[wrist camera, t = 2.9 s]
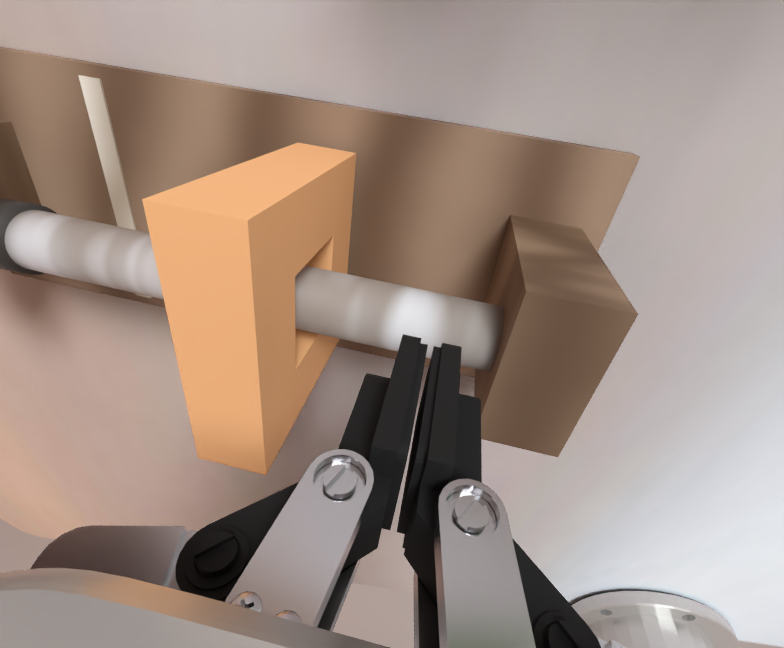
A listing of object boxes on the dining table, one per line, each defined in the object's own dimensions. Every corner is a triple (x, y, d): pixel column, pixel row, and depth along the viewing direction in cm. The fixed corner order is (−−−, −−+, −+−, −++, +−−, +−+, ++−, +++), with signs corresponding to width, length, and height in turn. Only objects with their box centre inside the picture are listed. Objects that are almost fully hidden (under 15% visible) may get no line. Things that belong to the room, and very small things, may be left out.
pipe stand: (633, 153, 16) (746, 211, 9) (533, 381, 22) (556, 512, 16) (-74, 34, 18) (-389, 10, 12) (24, 267, 25) (-142, 337, 18)
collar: (356, 152, 16) (247, 220, 9) (342, 333, 21) (266, 475, 14) (297, 142, 16) (141, 199, 9) (297, 322, 21) (198, 457, 14)
